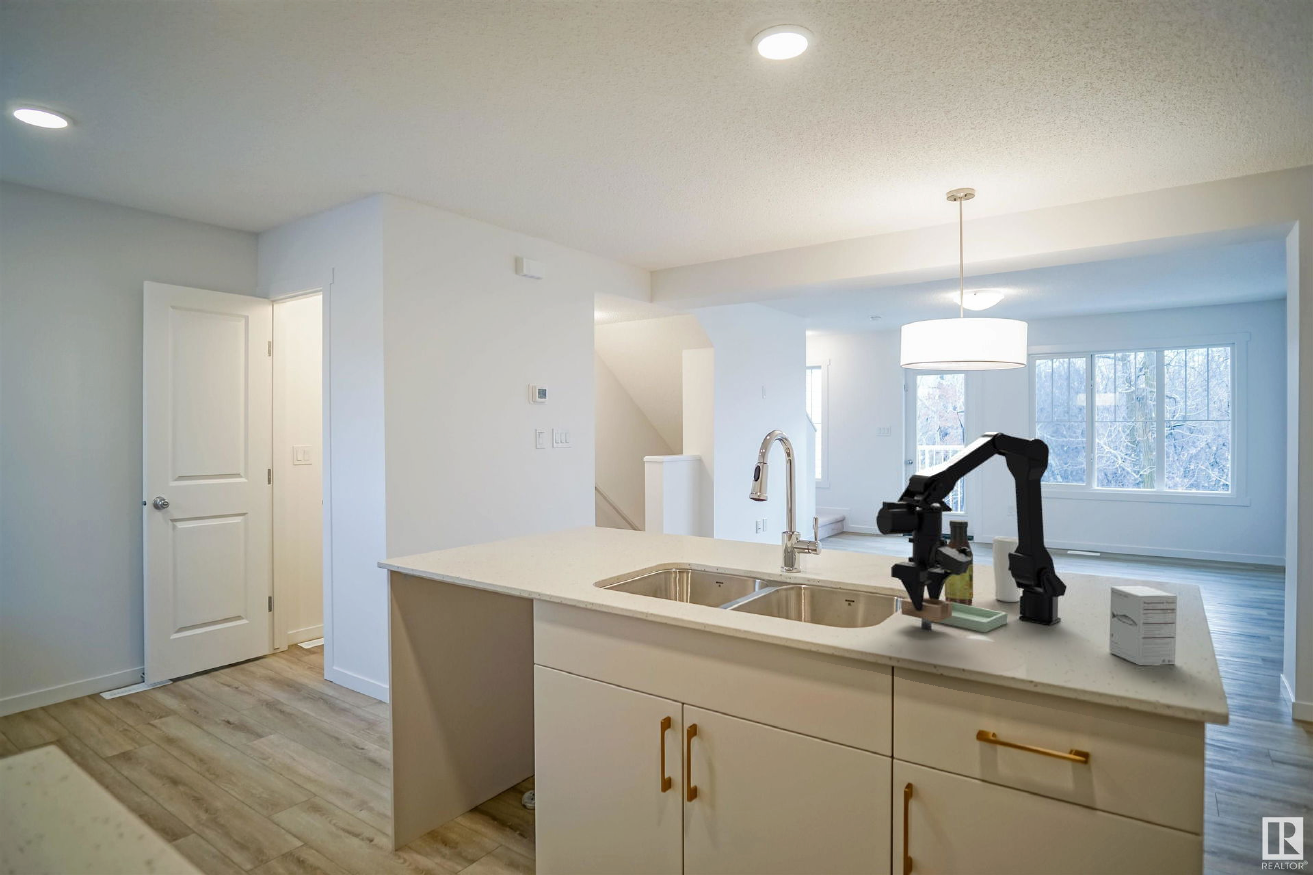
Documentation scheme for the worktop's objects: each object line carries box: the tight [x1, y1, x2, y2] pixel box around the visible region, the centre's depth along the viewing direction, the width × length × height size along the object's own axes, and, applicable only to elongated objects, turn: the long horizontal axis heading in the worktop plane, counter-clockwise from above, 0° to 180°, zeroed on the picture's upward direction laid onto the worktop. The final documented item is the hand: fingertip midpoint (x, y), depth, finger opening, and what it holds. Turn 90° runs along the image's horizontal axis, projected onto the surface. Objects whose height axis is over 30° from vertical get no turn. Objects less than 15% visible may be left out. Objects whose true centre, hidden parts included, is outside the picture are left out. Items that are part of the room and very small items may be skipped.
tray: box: [938, 602, 1008, 633], centre depth 151 cm, size 12×11×2 cm
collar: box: [900, 596, 952, 623], centre depth 145 cm, size 8×6×3 cm
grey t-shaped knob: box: [920, 618, 933, 631], centre depth 145 cm, size 5×2×4 cm, turn 41°
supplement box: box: [1108, 585, 1178, 666], centre depth 127 cm, size 7×7×13 cm
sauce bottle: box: [944, 519, 974, 606], centre depth 165 cm, size 7×6×20 cm
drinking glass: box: [992, 536, 1021, 603], centre depth 170 cm, size 7×7×15 cm
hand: (926, 607), depth 145 cm, fingers closed on collar, 6 cm apart
